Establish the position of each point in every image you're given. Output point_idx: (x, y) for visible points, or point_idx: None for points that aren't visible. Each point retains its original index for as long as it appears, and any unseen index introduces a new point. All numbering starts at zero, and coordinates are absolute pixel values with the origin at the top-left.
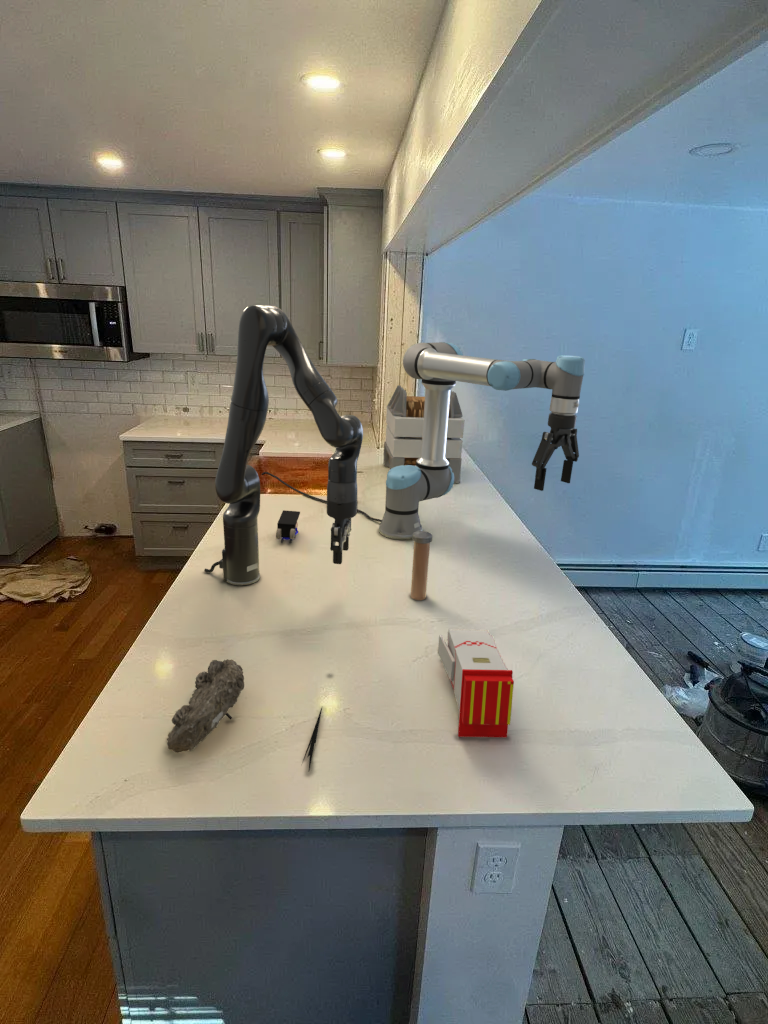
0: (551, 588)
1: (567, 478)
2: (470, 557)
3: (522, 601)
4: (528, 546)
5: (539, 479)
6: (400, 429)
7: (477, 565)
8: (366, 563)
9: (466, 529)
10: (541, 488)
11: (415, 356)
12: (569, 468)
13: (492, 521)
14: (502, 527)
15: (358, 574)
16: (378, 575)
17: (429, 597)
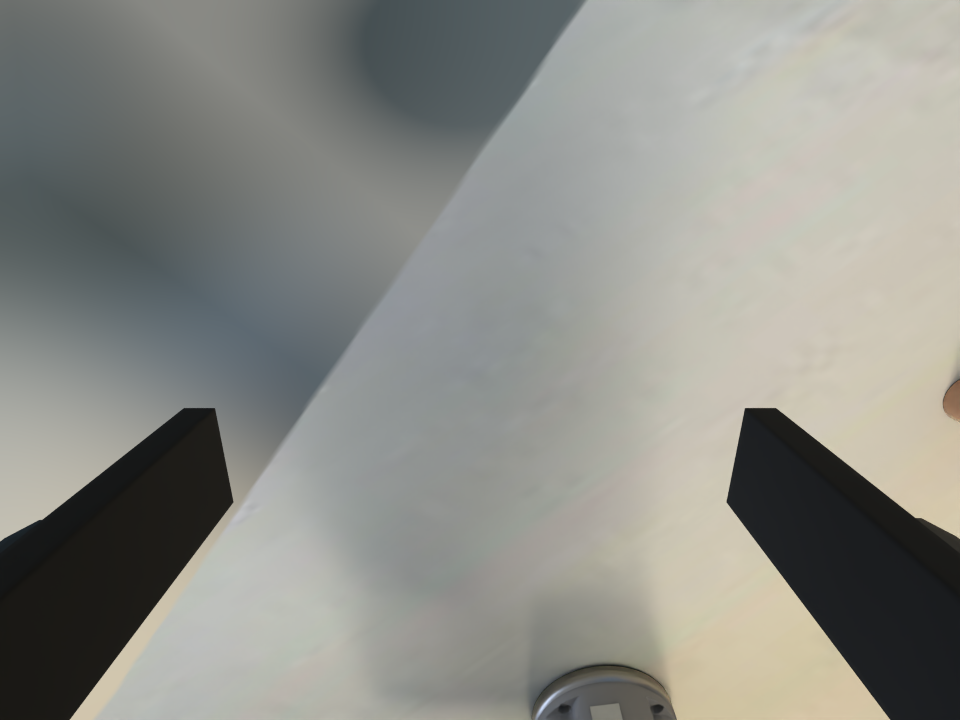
0: (566, 146)
1: (190, 458)
2: (580, 488)
3: (755, 151)
4: (312, 434)
5: (921, 519)
6: None
7: (616, 436)
8: None
9: (394, 634)
10: (790, 429)
11: None
12: (84, 552)
13: (250, 633)
14: (260, 585)
15: None
16: None
17: (951, 372)
